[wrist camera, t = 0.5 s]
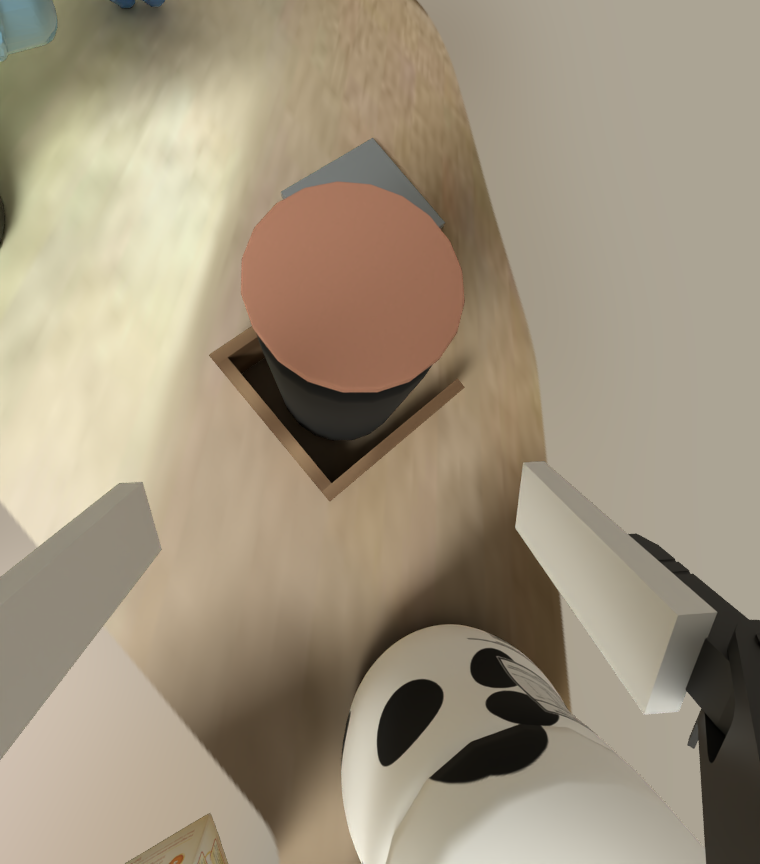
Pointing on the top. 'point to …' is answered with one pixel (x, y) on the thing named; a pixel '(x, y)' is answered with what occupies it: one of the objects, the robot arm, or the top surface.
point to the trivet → (367, 176)
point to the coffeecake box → (187, 846)
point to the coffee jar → (350, 302)
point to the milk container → (490, 766)
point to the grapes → (129, 0)
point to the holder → (241, 358)
